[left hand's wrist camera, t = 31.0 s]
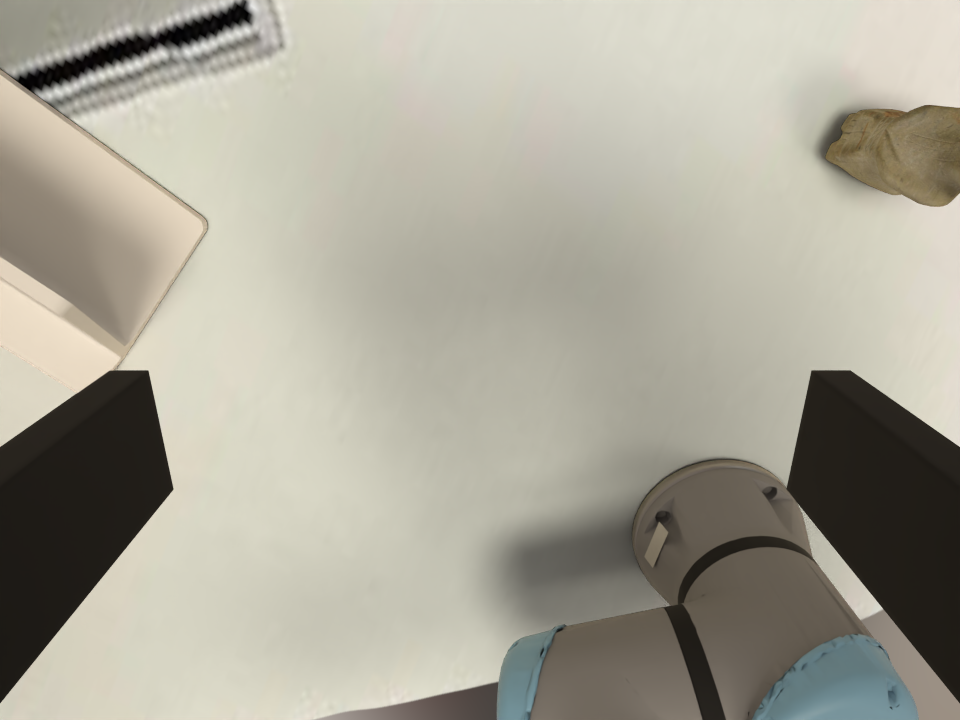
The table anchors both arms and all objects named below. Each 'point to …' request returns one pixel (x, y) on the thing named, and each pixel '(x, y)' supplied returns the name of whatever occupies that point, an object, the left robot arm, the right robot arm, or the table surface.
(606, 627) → the left robot arm
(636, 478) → the table surface
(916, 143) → the sculpture
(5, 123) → the tablet stand
